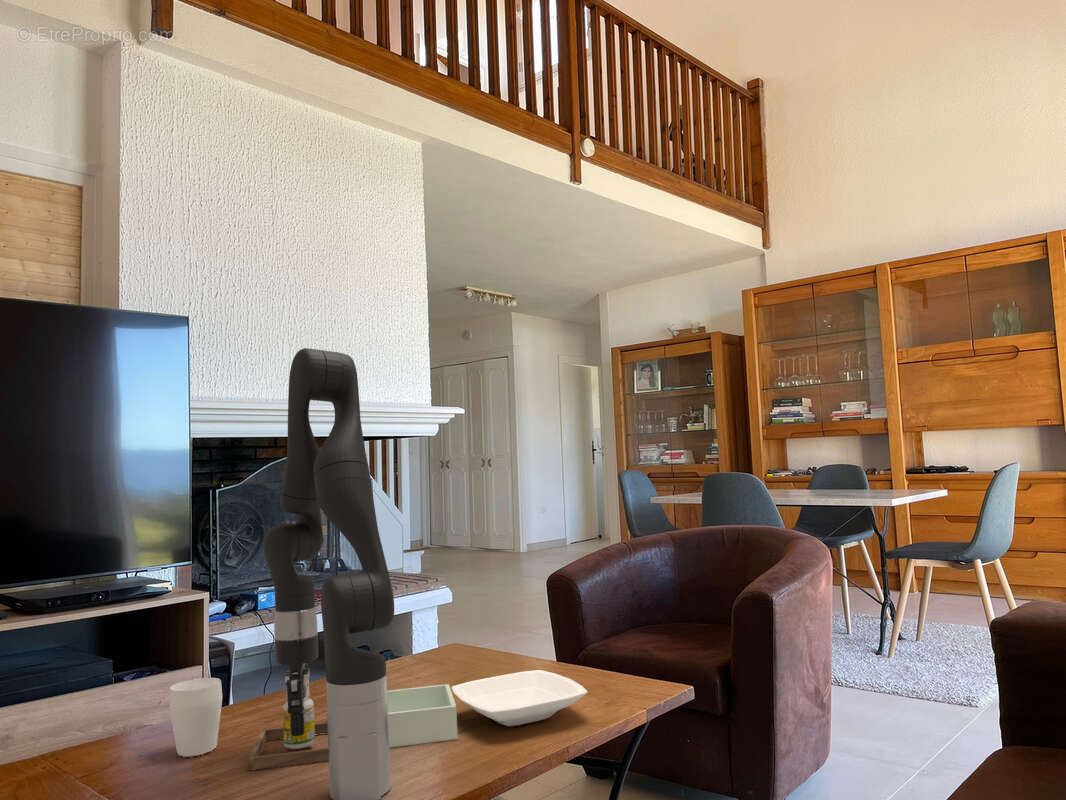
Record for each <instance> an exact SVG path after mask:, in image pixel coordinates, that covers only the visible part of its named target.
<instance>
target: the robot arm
mask: <svg viewBox="0 0 1066 800" xmlns="http://www.w3.org/2000/svg"><path fill="white" fill-rule="evenodd" d="M358 381H359V379H358V373H357V366H356V363H355V361H354V360H353V358H352V356H350V355H348V354H346V353H343V352H338V351H337V352H336V351H330V350H329V351H328V350H322V349H316V348H306V347H304V348H301V349H300V350H298V351H297V352H296V353H295V355H294V357H293V359H292V362H291V365H290V369H289V379H288V392H287V393H288V395H287V397H288V398H287V402H288V404H287V445H286V446H287V449H286V462H285V469H284V474H283V475H284V476H283V482H282V487H281V495H280V506H281V508H282V509H283V510H284V511H286V512H287V513H289V514H290V513H291V514H295V515H296V519H297V520H296V521H297V522H296V523H290V524H289V523H288V524H280V525H275V526H273V527H270V529H269V530H267V531H266V534H265V536H264V540H263V544H262V545H263V547H262V548H263V549H262V550H263V554H264V558H265V559H264V560H265V562H266V564H267V566H268V570H269V574H270V578H271V580H272V585H273V588H274V605H275V606H274V607H275V608H274V609H275V612H274V613H275V614H274V622H273V623H274V625H273V627H274V633H273V634H274V662H275V663H276V664H278V665H281V666H283V665H284V666H286V665H287V666H288V667H289V668H288V670H286V673H285V675H284V681H285V682H284V683H285V685H286V691H287V693H286V692H285V694H286V695H285V698H286V700H287V701H288V709H287V711H288V714H290V718H291V735H292V736H300V735H303V734H304V711H305V708H304V700H305V699H306V698H307V687H308V688H309V689H310V681H309V680H310V668H309V665H308V663H310V662H313V661H315V660H317V659H318V657H319V640H318V639H319V638H318V618H317V617H318V616H317V611H316V593H315V592H316V589H315V580H314V578H313V577H312V576H310V575H307V574H301V573H298V572H297V571H296V569H295V566H294V563H297V562H298V563H299V562H306V561H310V560H311V561H312V560H313V559H315V557H317V556H318V554H319V553H320V551H321V550H322V547H323V543H324V533H323V524H322V513H323V514H324V515H325V516H326V518H327V519H328V521H330V523H332V525H333V526H334V527H335V528H336V529H337V530H338V531H339V532H340V533H341V535H343V537H344V538H345V539H346V540H347V541H348V542H349V545H351V547H352V548H353V550H354V552H355V554H356V556H357V559H358V560H359V563H360V566H361V569H362V571H361V572H352V573H351V572H350V573H343V574H336V575H331V576H328V577H326V578H325V579H324V581H323V583H322V586H321V590H320V608H321V620H322V621H321V622H322V631H323V643H324V644H323V645H324V646H323V647H324V663H325V680H326V681H325V683H326V685H325V686H326V715H327V717H326V718H327V721H326V722H328V734H327V742H328V743H327V745H328V747H327V748H328V752H329V761H328V772H329V776H328V777H329V796H330V798H331V799H332V800H381V799H382V796H384V795H386V793H388V792H389V791H391V788H392V785H391V783H392V782H391V781H392V780H391V759H390V756H391V755H390V748H389V729H388V703H387V691H388V681H387V680H388V679H387V662H386V661H387V660H386V658H385V656H384V655H383V654H381V653H379V652H376V651H372V650H366V649H362V648H358V647H356V646H354V645H352V644H351V643H350V640H349V637H348V636H349V635H353V634H358V633H359V634H360V633H364V632H365V633H367V632H371V631H372V632H373V631H377V630H383V629H386V628H389V626H391V624H392V623H393V619H394V616H395V597H394V592H393V586H392V582H391V577H390V574H389V570H388V569H389V568H388V565H387V562H386V557H385V553H384V550H383V545H382V541H381V537H380V532H379V526H378V521H377V513H376V509H375V508H376V507H375V501H374V493H373V484H372V478H371V472H370V468H369V467H370V466H369V461H368V457H367V452H366V447H365V440H364V436H363V435H364V434H363V428H362V420H361V409H360V407H361V406H360V393H359V392H360V391H359V382H358ZM311 401H316V402H326V403H327V402H329V403H331V404H332V405H333V410H334V420H333V421H334V423H333V426H332V428H331V430H330V433H329V434H328V436H327V438H326V439H325V441H324V442H323V445H322V446H321V447H319V445H318V443H317V440H316V438H315V436H314V433H313V430H312V426H311V424H310V413H309V412H310V411H309V410H310V403H311ZM321 511H322V512H321ZM302 691H303V693H302ZM294 700H299V703H300V705H296V706H293V701H294Z"/></svg>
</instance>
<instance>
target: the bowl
mask: <svg viewBox="0 0 1066 800" xmlns="http://www.w3.org/2000/svg"><path fill="white" fill-rule="evenodd" d="M451 691H452V694H454V695H455V696H456V697H457V698H458V699H459V700H460V701H461V702H462V703H464V704H465V705H467V706H468V707H469V708H471V709H473V710H474V711H476V712H477V713H479V714H481V715H483V716H485V717H486V718H489V719H492V720H493V721H495V722H496V723H498V724H500V725H503V726H506V727H514V726H515V727H516V726H522V725H525V724H529V723H534V722H538V721H539V722H540V721H543V720H546V719H548V718H549V719H550V718H551V717H552V716H553V715H554V714H556V713H557V712H558V711H559V710H562V709H565V708H568V707H571V705H573V704H574V703H576V702H577V701H579V700H580V699H581V698H582V697H584V696H586V695H587V694H588V693H589V692H588V690H587V689H586V688H585V687H584V686H583V685H581V684H579V683H578V682H577V681H574V680H573V679H571V678H569V677H566V676H564V675H563V676H562V675H560V674H558V673H554V672H550V671H546V670H543V669H537V670H536V669H535V670H525V671H518V672H513V673H508V674H507V673H506V674H503V675H502V674H500V675H496V676H491V677H486V678H481V679H476V680H471V681H467V682H463V683H460V684H459V683H458V684H456V685H453V686H451Z"/></svg>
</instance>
